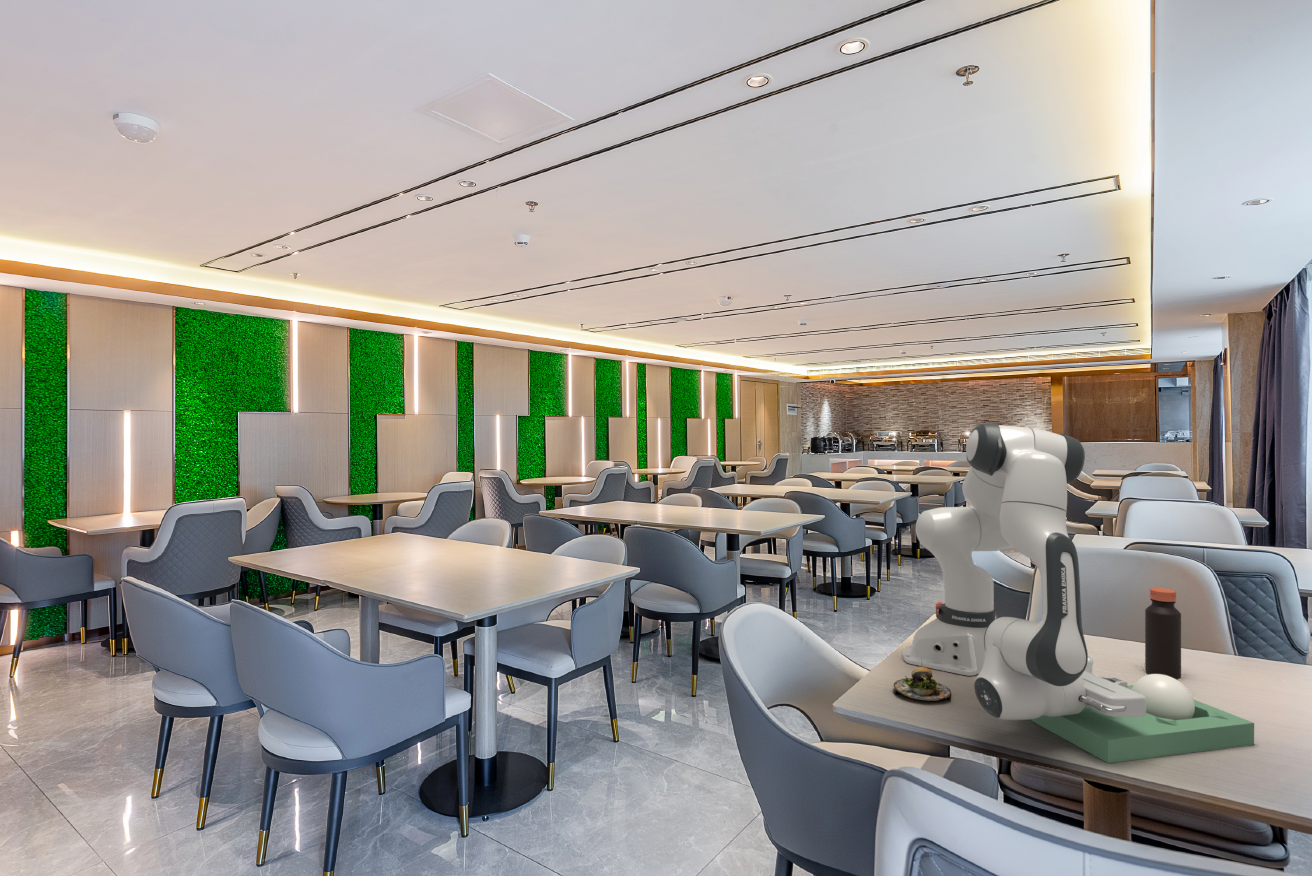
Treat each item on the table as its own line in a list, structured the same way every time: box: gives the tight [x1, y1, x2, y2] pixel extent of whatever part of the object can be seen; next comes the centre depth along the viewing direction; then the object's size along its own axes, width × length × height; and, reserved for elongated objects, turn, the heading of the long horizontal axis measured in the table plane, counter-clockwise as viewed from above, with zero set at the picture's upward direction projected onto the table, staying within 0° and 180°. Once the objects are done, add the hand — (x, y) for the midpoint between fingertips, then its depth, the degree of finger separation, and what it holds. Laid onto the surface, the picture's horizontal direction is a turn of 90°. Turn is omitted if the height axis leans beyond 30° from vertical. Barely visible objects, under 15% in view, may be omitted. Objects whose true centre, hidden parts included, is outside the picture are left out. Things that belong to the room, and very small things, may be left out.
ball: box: [1131, 674, 1195, 720], centre depth 131 cm, size 10×10×10 cm
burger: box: [892, 660, 953, 702], centre depth 147 cm, size 12×12×8 cm
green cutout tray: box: [1028, 684, 1255, 764], centre depth 130 cm, size 32×20×4 cm, turn 102°
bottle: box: [1144, 587, 1182, 680], centre depth 159 cm, size 7×7×20 cm
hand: (1120, 683), depth 129 cm, fingers closed
